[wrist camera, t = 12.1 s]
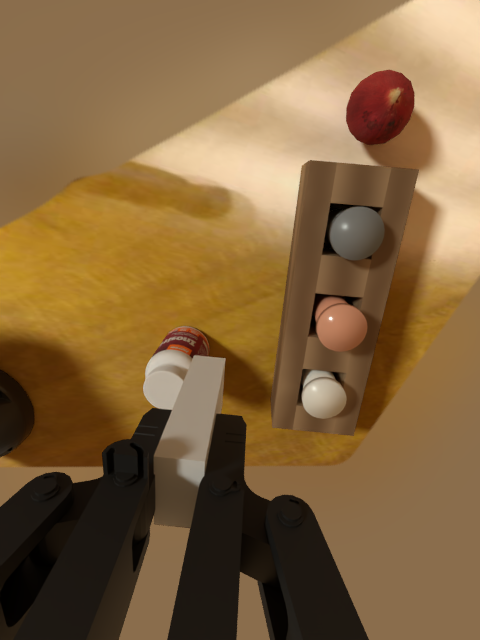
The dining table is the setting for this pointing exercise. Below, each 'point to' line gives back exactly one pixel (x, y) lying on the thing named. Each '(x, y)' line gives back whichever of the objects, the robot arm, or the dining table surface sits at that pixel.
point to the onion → (380, 107)
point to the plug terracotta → (338, 322)
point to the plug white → (322, 393)
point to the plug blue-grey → (354, 232)
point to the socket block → (336, 286)
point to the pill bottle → (172, 365)
